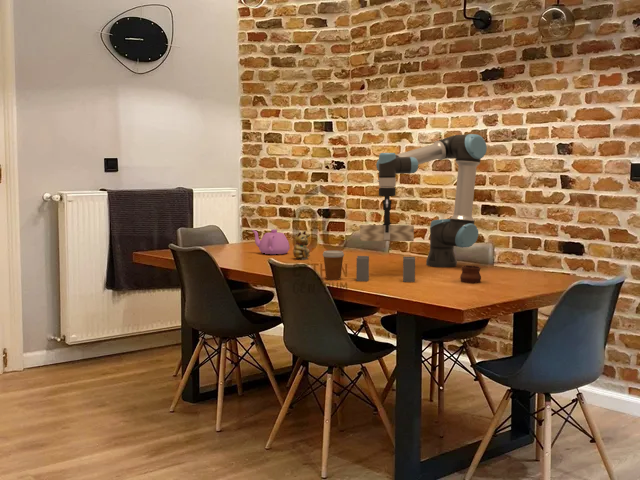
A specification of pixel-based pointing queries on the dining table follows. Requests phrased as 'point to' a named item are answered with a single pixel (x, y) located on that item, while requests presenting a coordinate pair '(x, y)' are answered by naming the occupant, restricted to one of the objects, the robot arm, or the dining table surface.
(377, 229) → the ash rail plank
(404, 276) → the set of support blocks
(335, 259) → the disposable coffee cup
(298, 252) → the decorative figurine
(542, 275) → the dining table surface
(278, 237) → the teapot
